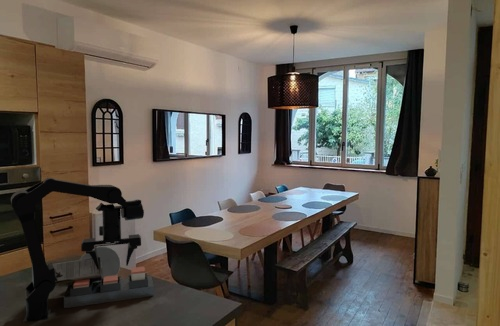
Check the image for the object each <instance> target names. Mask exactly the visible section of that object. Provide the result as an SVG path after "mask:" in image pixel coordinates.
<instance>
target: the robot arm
mask: <svg viewBox="0 0 500 326" xmlns="http://www.w3.org/2000/svg"><path fill="white" fill-rule="evenodd" d="M52 192H54V193H60V194H67V195H74V196H82V197H88V198H89V197H90V198H93V199H96V200H99V201H101V202H100V203H99V205H97V206H96V207H95V210H96V211H98V212H102V225H100V226H98V228H99V229H98V231H99V233H98V235H99V237H100V236H102V240H101V239H100V240H96V238H95V237H93V238H91V237H90V238H84V239H83V240H82V242H81V245H80V247H81V249H80V250H81V252H85V253H86V254H88V253H89V254H90V256H91V257H92V259H93V260H94V263H95V265H96V267H97V269H99V261H98V255H97V247H108V246H117V245H127V251H126V259H125V261H126V263H125V265H126V266H127V267H128V266H129V262H130V259H131V256H132V254H133V252H134V250H137V249H138V247H141V246H142V236H141V235H140V234H129V235H128V237H127V238H126V237H125V238H124V237H123V238H122V228H121V227H122V221H121V218H122V219H124V221H132V220H141V219H143V218H144V217H145V216H144V215H145V209H144V207H143V204H142V200H141V199H134V200H126V199H125V198H124V197H123V195H122V194H123V193H122V191H121V189H120V188H119V187H117V186H115V185H112V184H92V185H91V184H85V183H81V182H74V181H67V180H62V179H61V180H60V179H55V178H52V177H47V178H45V179H44V180H41V181H40V182H38V183H36V184H34V185H32V186H30V187H29V188H27V189H25V190H22V189H21V190H18V191H16V192H14V193H13V194H12V195H11V197H10V204H11V207H12V210H13V211H14V213H15V216H16V217H17V219H18V221H19V223H20V224H21V227H22V228H21V229H22V232H23V235H24V239H25V243H26V246H27V247H26V248H27V251H28V254H29V258H30V261H31V278H32V279H31V282H29V284H28V285H27V286H26V287H25V288H24V293H25V313H26V314H25V317H24V319H23V321H22V323H28V322H29V323H30V322H37V321H42V320H48V319H49V316H50V314H51V312H52V309H51V308H49V300H48V299H49V296H50V293H52V292H53V291H54V290H55V289H54V288H55V286H56V282H55V281H58V280H57V277H56V275H55V269H54V266H53V264H54V263H52V262H51V263H49V264H48V263H47V261H46V258H45V254H44V250H43V246H42V243H41V238H40V234H39V230H38V226H37V223H36V203H38V202H39V201H41V200H43V198H45V197H47V196H48V195H49V194H51V193H52ZM102 202H104V203H107V204H104V203H102ZM115 204H118V205H115Z"/></svg>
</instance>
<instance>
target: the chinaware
mask: <svg viewBox="0 0 500 326" xmlns="http://www.w3.org/2000/svg"><path fill="white" fill-rule="evenodd" d="M97 255H98V257H100V259H101V263H102V278H104V277H106V276H114V275H118V274H119V272H120V269H121V263H122V262H121V257H120V256H119V254H118V253H117V251H116V250H114V249H113V248H112V247H111V248H110V247H108V246H98V247H97ZM90 258H92V257H91V256H90V254H89V253H88V254H86V252H85V253H84V254H83V255H82V256H81V257H80V259H79V260H84V259H90ZM96 282H101V281H96ZM93 283H94V282H93Z"/></svg>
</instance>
